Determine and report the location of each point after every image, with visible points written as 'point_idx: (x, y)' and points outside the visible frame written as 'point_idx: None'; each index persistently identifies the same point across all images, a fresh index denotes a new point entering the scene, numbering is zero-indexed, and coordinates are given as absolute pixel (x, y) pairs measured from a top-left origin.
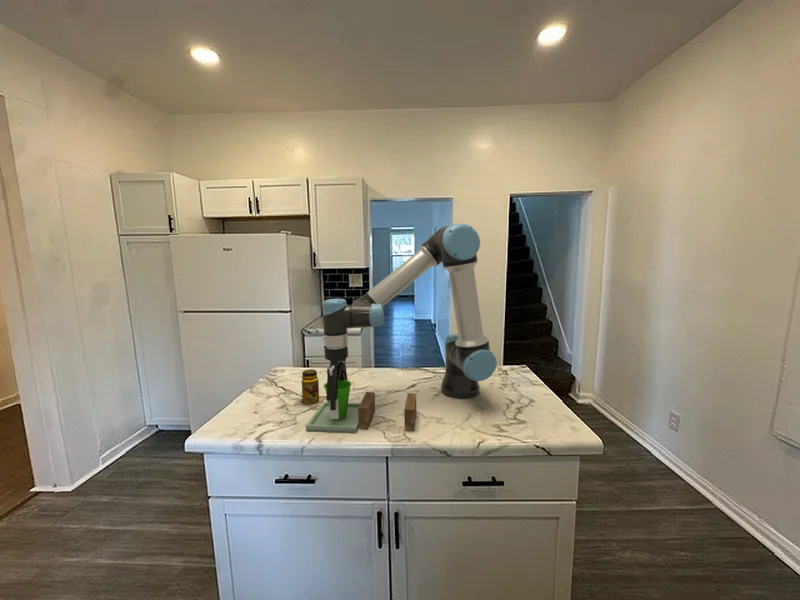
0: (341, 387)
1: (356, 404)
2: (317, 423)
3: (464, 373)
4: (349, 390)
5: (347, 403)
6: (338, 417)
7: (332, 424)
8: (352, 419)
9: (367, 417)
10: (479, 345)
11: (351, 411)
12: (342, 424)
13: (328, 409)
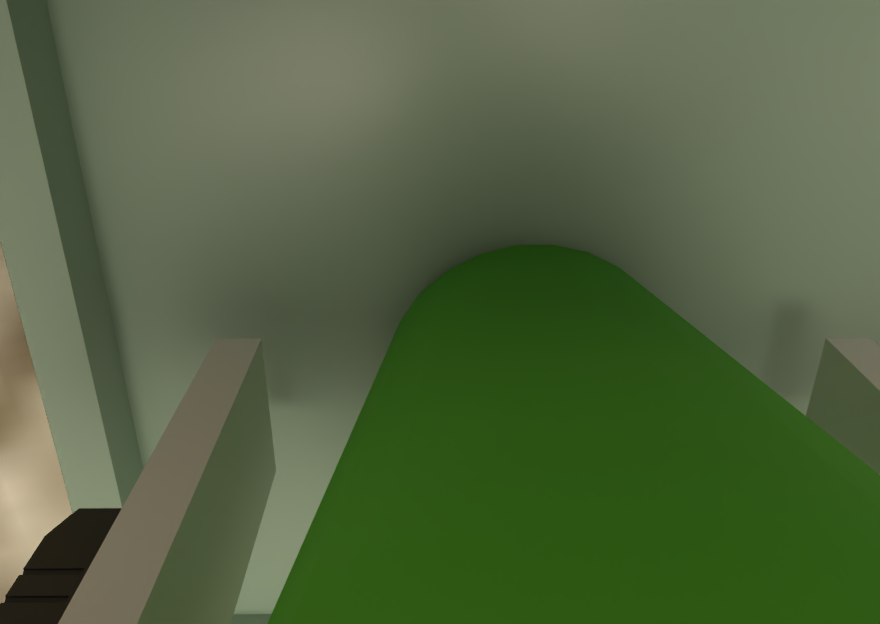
0: None
1: (43, 152)
2: None
3: None
4: (696, 534)
5: (623, 322)
6: (862, 349)
7: (786, 381)
8: (623, 94)
9: None
10: None
11: (281, 194)
12: (810, 229)
13: (272, 557)
